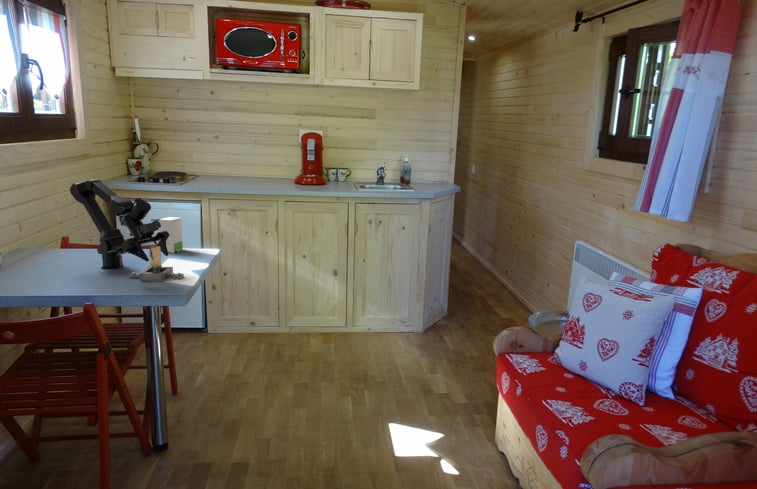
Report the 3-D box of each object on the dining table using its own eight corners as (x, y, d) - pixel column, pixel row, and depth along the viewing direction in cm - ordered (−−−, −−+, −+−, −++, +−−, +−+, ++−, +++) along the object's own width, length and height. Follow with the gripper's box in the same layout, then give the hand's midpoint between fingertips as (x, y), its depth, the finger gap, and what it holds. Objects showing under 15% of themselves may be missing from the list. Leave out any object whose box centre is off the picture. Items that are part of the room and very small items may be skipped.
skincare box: (173, 253, 237) (171, 220, 233) (160, 252, 238) (158, 219, 235) (183, 249, 245) (181, 217, 241) (171, 247, 246) (169, 216, 243)
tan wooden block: (151, 279, 200) (148, 248, 197) (151, 276, 204) (149, 245, 201) (162, 278, 201) (160, 247, 198) (162, 275, 205) (160, 245, 202)
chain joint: (126, 280, 197) (125, 273, 197) (136, 273, 207) (135, 266, 206) (178, 281, 198) (178, 274, 198) (186, 274, 208) (185, 267, 207)
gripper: (124, 218, 190) (146, 251, 188) (165, 211, 206) (186, 241, 204) (111, 236, 195) (133, 268, 193) (152, 227, 212) (173, 257, 210)
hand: (158, 258), depth 200 cm, fingers open, 9 cm apart
